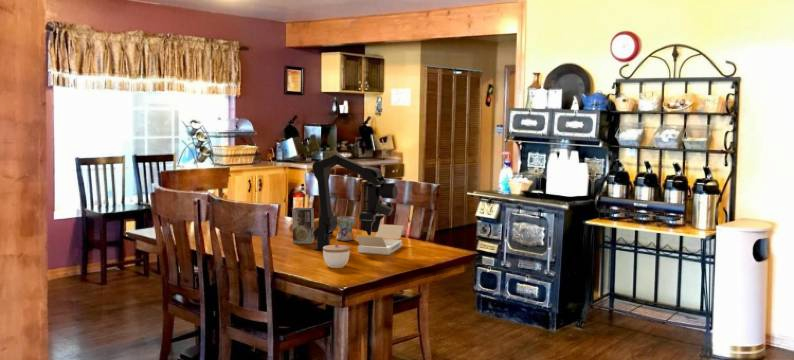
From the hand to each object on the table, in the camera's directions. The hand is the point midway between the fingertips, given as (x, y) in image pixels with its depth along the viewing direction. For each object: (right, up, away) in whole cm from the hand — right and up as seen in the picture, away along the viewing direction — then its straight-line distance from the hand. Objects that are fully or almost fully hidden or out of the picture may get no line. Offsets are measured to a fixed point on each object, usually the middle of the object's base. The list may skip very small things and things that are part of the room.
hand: (373, 233), depth 309 cm
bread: (-33, -5, +44) cm, 55 cm away
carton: (+3, -8, +11) cm, 14 cm away
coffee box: (-33, -6, +26) cm, 43 cm away
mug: (-15, -6, +35) cm, 38 cm away
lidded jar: (-14, -12, -24) cm, 30 cm away
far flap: (+7, -1, +23) cm, 24 cm away
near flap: (-1, -3, -2) cm, 4 cm away
